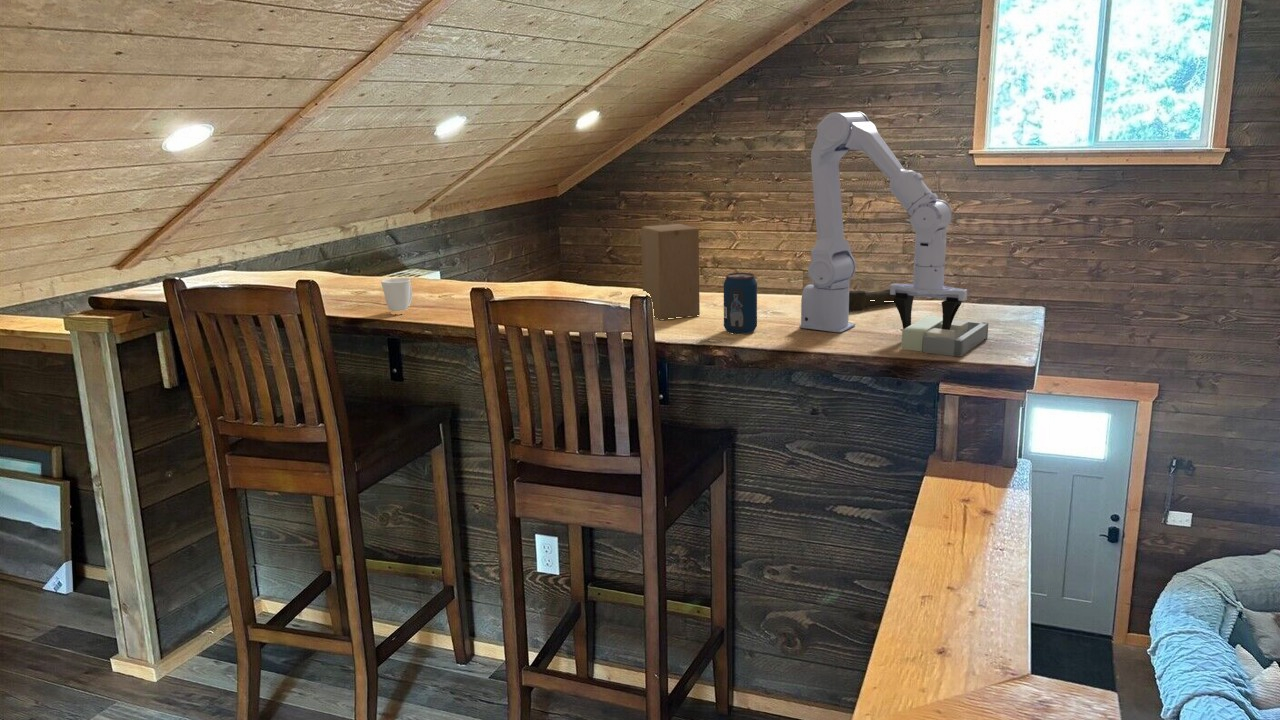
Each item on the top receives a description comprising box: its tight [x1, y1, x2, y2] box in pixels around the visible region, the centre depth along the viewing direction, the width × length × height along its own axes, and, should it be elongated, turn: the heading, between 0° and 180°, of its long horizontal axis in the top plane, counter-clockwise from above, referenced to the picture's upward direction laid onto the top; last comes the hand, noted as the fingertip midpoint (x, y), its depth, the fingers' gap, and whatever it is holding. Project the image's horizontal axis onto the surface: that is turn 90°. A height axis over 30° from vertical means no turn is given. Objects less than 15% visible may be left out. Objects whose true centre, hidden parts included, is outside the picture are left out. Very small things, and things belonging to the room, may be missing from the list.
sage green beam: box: [900, 315, 943, 352], centre depth 188 cm, size 4×14×4 cm, turn 145°
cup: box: [380, 277, 413, 312], centre depth 229 cm, size 7×10×8 cm
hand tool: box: [849, 288, 896, 312], centre depth 221 cm, size 19×4×5 cm, turn 116°
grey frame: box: [922, 318, 989, 358], centre depth 185 cm, size 7×17×3 cm, turn 145°
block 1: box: [926, 328, 955, 339], centre depth 183 cm, size 4×4×4 cm
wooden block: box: [640, 223, 701, 320], centre depth 216 cm, size 10×10×20 cm
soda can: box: [723, 272, 758, 335], centre depth 200 cm, size 7×7×12 cm
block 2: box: [940, 320, 968, 339], centre depth 189 cm, size 4×4×4 cm
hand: (925, 333), depth 188 cm, fingers open, 7 cm apart
